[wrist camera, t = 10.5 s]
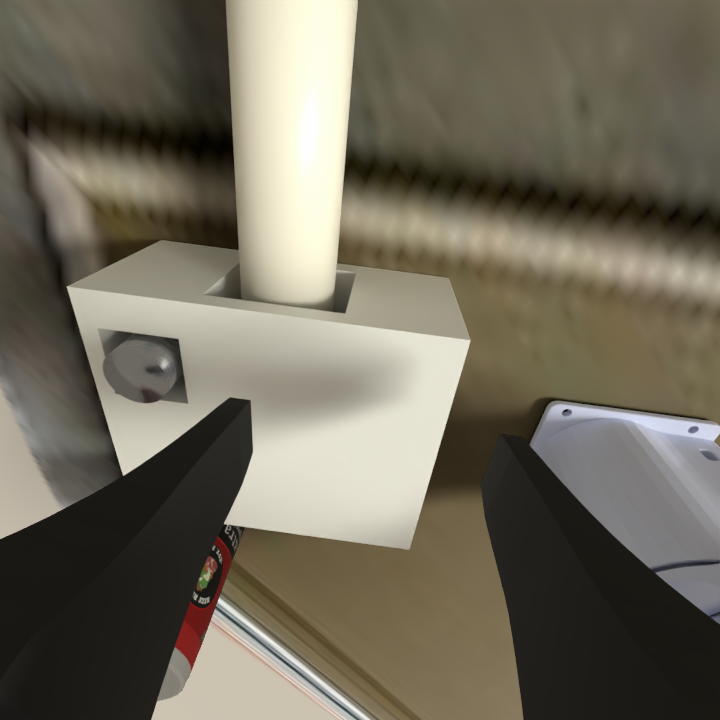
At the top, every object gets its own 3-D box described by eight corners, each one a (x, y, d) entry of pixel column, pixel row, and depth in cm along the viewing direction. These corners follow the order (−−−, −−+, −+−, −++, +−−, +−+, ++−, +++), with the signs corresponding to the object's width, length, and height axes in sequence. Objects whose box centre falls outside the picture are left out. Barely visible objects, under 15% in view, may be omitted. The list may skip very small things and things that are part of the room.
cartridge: (400, -205, 11) (404, -404, 7) (346, 329, 20) (333, 383, 16) (230, -225, 11) (132, -436, 7) (251, 316, 20) (214, 367, 16)
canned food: (273, 512, 29) (215, 698, 20) (186, 531, 31) (96, 708, 22) (217, 438, 26) (113, 621, 16) (123, 466, 28) (-17, 641, 18)
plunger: (208, 308, 17) (162, 353, 14) (213, 354, 18) (172, 407, 15) (154, 301, 17) (95, 345, 14) (163, 348, 18) (110, 398, 15)
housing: (448, 277, 19) (470, 340, 13) (406, 457, 25) (409, 549, 20) (161, 239, 19) (66, 286, 13) (190, 427, 25) (133, 511, 20)
